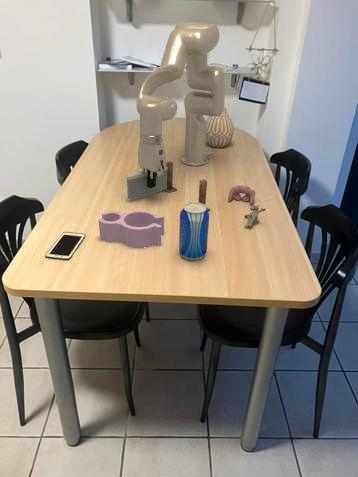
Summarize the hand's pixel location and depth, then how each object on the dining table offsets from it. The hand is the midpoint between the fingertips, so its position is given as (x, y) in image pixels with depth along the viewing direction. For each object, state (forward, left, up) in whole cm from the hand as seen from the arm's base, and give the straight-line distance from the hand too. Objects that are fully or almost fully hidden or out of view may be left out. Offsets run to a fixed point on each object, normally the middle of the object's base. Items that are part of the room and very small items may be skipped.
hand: (151, 186), depth 147 cm
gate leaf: (-1, -4, -5) cm, 6 cm away
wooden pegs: (-11, +6, -6) cm, 14 cm away
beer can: (+9, +38, -6) cm, 39 cm away
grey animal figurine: (-20, +34, -6) cm, 40 cm away
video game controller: (-29, +19, -6) cm, 35 cm away
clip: (+19, +19, -6) cm, 28 cm away
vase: (-64, -37, -6) cm, 75 cm away
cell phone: (+39, +13, -6) cm, 41 cm away
